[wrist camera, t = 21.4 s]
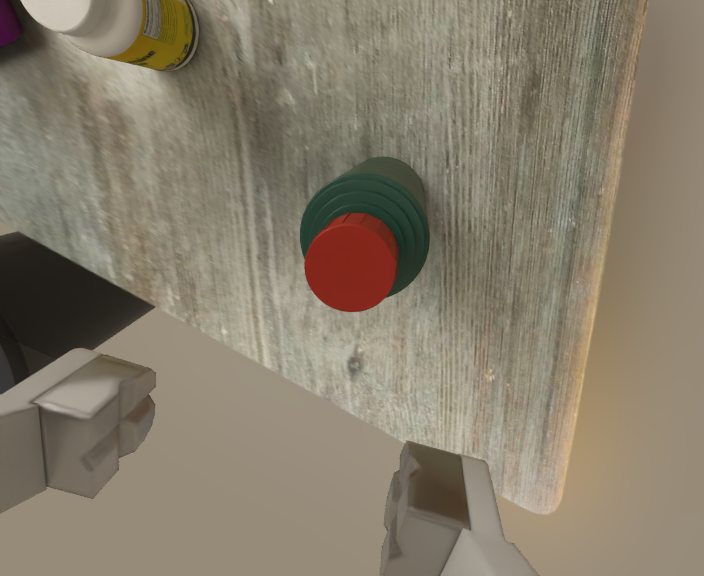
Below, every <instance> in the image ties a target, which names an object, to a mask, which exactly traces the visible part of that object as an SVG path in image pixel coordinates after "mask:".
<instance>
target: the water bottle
mask: <svg viewBox="0 0 704 576" xmlns="http://www.w3.org/2000/svg"><path fill="white" fill-rule="evenodd" d="M348 212H350V213H367V214H368V215H371V216H374V217H376V218H377V219H379V220H380V219H381V220H382V222H383V223H384V224H385V225H386V226H387V227H388V228H389V229H390V230H391V232H392V231H393V235H394V237H395V240H396V243H397V247H399V251H398V259H397V262H398V268H397V276H396V278H395V280H394V284H393V286H392V288H391V290H390V292H389V294H388V295H387V296H386V297H389V296H391V295H394V294H396V293H398V292H399V291H401V290H403V289H404V288H405V287H407V286H408V285H409V284H410V283H411V282H412V281H413V280H414V279H415V278H416V276H417V275H418V274H419V272H420V271H421V269H422V267H423V265H424V263H425V261H426V258H427V254H428V250H429V243H430V234H429V227H428V219H427V212H426V205H425V198H424V190H423V186H422V183H421V181H420V179H419V177H418V175H417V174H416V173H415V171H414V170H413V169H412V168H411V167H410V166H408V165H407V164H406V163H404V162H402V161H400V160H398V159H395V158H391V157H376V158H372V159H369V160H366V161H365V162H363V163H361V164H359V165H358V166H356V167H354V168H353V169H351V170H349V171H348V172H346V173H344V174H343V175H341V176H339V177H338V178H336V179H334V180H333V181H331V182H329V183H328V184H327V185H325V186H324V187H322V188H321V189H320V190H319V191H318V192H317V193H316V194H315V195H314V197H313V198H312V199H311V201H310V202H309V204H308V206H307V208H306V210H305V212H304V215H303V218H302V221H301V228H300V243H301V249H302V253H303V256H304V258H305V257H306V254H307V251H308V249H309V247H310V245H311V243H312V242H313V241H312V240H313V239H314V238H315V237H316V236H317V235H318V234H319V233H320V231H321V230H322V229H325V227H326V226H327V225H328V224H329V223H330V222H331V220H332V219H334V218H335V219H336V218H338V217H340V216H342V215H345V214H347V213H348ZM386 297H385V298H386Z"/></svg>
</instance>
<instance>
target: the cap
mask: <svg viewBox="0 0 704 576" xmlns="http://www.w3.org/2000/svg"><path fill="white" fill-rule="evenodd" d="M312 241H313V242H312V243H311V245H310V247H309V249H308V251H307V254H306V257H305V275H306V279H307V281H308V284H309V286H310V288H311V290H312V291H313V292H314V294H315V295H316V296H317V297H318V298H319V299H320V300H321V301H322V302H324V303H325V304H326V305H328V306H330V307H332V308H334V309H337V310H340V311H345V312H359V311H364V310H367V309H370V308H372V307H374V306H376V305H377V304H379V303H380V302H381V301H382V300H383V299H384V298H385V297H386V296H387V295H388V294H389V292H390V290H391V288H392V286H393V284H394V280H395V278H396V276H397V268H398V262H397V259H398V251H399V247H397V243H396V240H395V237H394V235H393V231H392V232H391V230H390V229H389V228H388V227H387V226H386V225H385V224H384V223H383V222H382V220H381V219H380V220H379V219H377V218H376V217H374V216H371V215H368V214H367V213H350V212H348V213H347V214H345V215H342V216H340V217H338V218H336V219H335V218H334V219H332V220H331V222H330V223H329V224H328V225H327V226H326V227H325V229H322V230H321V231H320V233H319V234H318V235H317V236H316V237H315V238H314V239H313V240H312Z"/></svg>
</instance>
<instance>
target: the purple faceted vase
mask: <svg viewBox="0 0 704 576" xmlns="http://www.w3.org/2000/svg"><path fill="white" fill-rule="evenodd" d="M22 33H23V29H22V27H21V24H20V22H19V20H18V18H17V16H16V13H15V11H14V9H13V7H12V4H11V2H10V0H0V47H2V46H5V45H7V44H9V43H12V42H14V41H15V40H16V39H17V38H18V37H19V36H20V35H21V34H22Z"/></svg>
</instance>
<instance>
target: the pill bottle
mask: <svg viewBox="0 0 704 576" xmlns="http://www.w3.org/2000/svg"><path fill="white" fill-rule="evenodd" d="M21 2H22V4H23V5H24V7H25V8H26V10H27V11H28V12H29V14H30V15H31V16H32V17H33V18H34V19H35V20H36V21H37V22H39V23H40V24H41V25H43V26H44V27H46V28H48V29H50V30H52V31H55V32H58V33H62V34H63V35H64V36H65V37H66V38H67V39H68V40H69V41H70V42H71V43H72V44H73V45H75V46H76V47H78V48H79V49H81V50H83V51H85V52H87V53H90V54H92V55H95V56H99V57H103V58H108V59H112V60H116V61H121V62H126V63H130V64H134V65H138V66H142V67H146V68H151V69H154V70H160V71H173V70H177V69H179V68H181V67H183V66H184V65H186V64H187V63H188V62H189V61H190V59H191V58H192V57H193V55H194V53H195V50H196V47H197V44H198V37H199V27H198V21H197V17H196V14H195V11H194V9H193V7H192V5H191V3H190V2H189V0H21Z"/></svg>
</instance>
